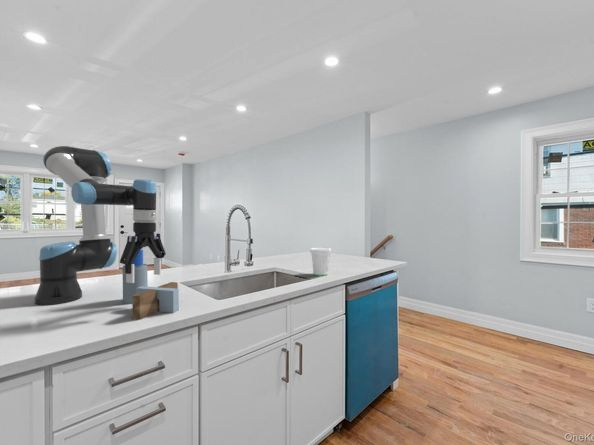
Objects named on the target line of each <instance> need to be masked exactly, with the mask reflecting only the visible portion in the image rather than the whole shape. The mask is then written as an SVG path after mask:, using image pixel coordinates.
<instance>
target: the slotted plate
mask: <svg viewBox="0 0 594 445" xmlns="http://www.w3.org/2000/svg"><path fill="white" fill-rule="evenodd" d="M147 290H156V297H157V299H158V300H159V311H158V312H160V313H168V314H169V313H170V314H175V313H176V312H178V311H179V310H180V309H179V307H180V306H179V305H180V304H179V302H180V301H179V300H180V299H179V298H180V297H179V295H180V294H179V293H180V292H179V291H180V290H179V288H178V289H174V288H161V287H158V286H148V287H147V286H141V287H138V288H136V294H138V293H141V292H144V291H147Z"/></svg>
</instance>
